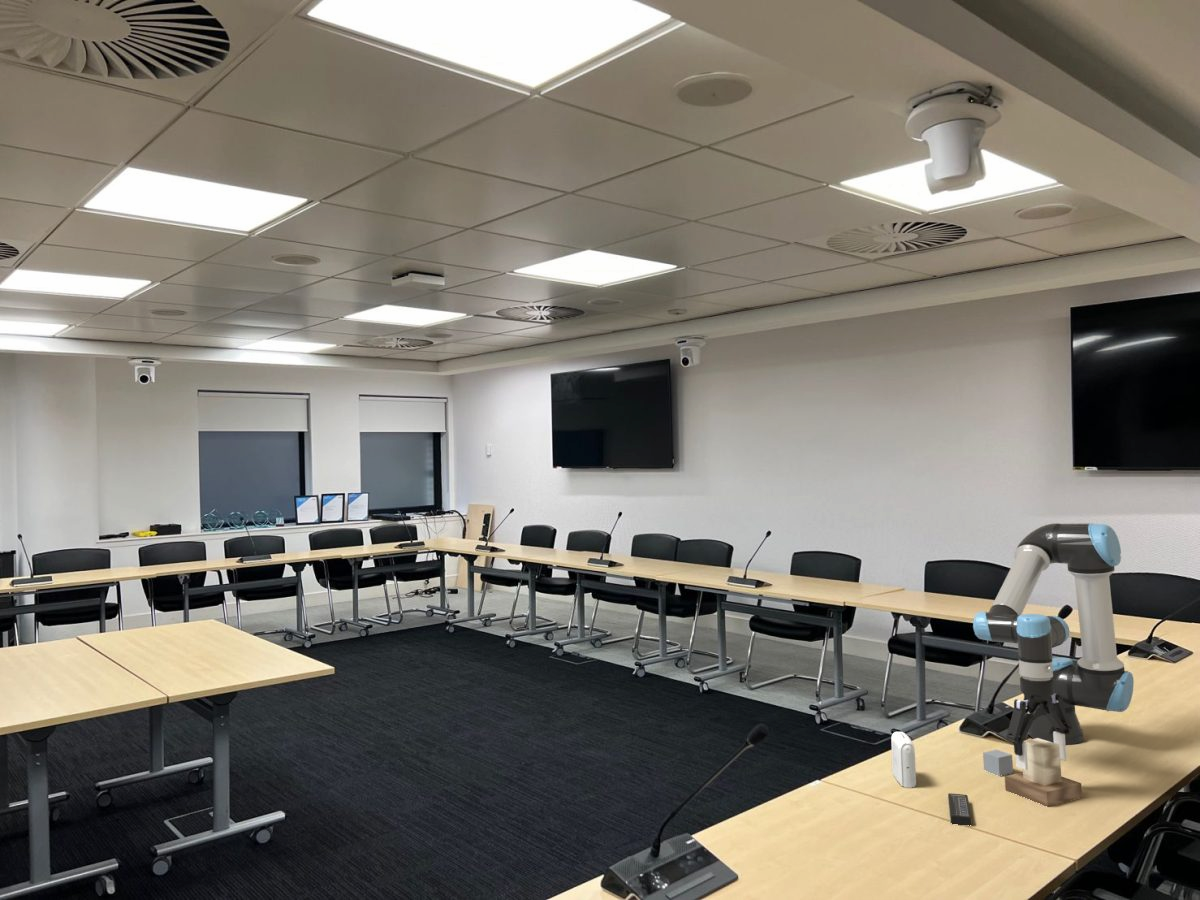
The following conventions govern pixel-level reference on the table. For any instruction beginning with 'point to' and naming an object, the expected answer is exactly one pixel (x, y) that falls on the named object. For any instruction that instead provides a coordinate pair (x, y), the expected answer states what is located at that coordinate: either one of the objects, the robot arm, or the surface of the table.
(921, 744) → the table surface
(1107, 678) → the robot arm
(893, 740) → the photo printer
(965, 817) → the multiport hub
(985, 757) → the slate grey block
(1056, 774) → the ash block
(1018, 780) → the walnut base block
